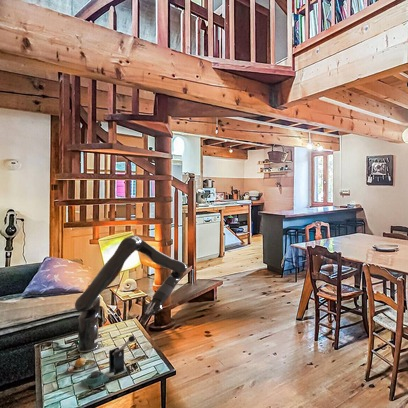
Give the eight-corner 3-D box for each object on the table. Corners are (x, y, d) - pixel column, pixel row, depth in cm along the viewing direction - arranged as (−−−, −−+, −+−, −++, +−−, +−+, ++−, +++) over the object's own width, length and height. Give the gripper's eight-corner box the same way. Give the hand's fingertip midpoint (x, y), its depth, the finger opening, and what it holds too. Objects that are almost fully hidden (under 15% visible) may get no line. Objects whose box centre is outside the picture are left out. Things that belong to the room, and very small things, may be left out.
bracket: (118, 367, 169) (118, 344, 169) (130, 372, 165) (130, 348, 165) (102, 375, 162) (102, 351, 161) (114, 380, 158) (114, 355, 157)
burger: (101, 363, 173) (101, 350, 173) (83, 376, 161) (83, 361, 161) (80, 362, 173) (80, 349, 173) (60, 375, 161) (60, 360, 161)
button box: (81, 384, 154) (81, 377, 154) (96, 377, 160) (96, 369, 160) (93, 390, 150) (93, 382, 150) (109, 382, 157) (109, 374, 156)
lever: (133, 337, 173) (131, 333, 171) (137, 339, 172) (135, 335, 170) (113, 357, 163) (110, 353, 162) (117, 358, 162) (114, 354, 161)
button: (88, 377, 154) (88, 374, 154) (97, 373, 157) (97, 370, 157) (93, 379, 153) (93, 375, 153) (101, 375, 156) (101, 372, 156)
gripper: (151, 288, 187) (130, 316, 176) (167, 291, 181) (146, 320, 171) (159, 294, 192) (139, 321, 181) (175, 298, 187) (155, 326, 176)
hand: (143, 321), depth 176 cm, fingers closed
